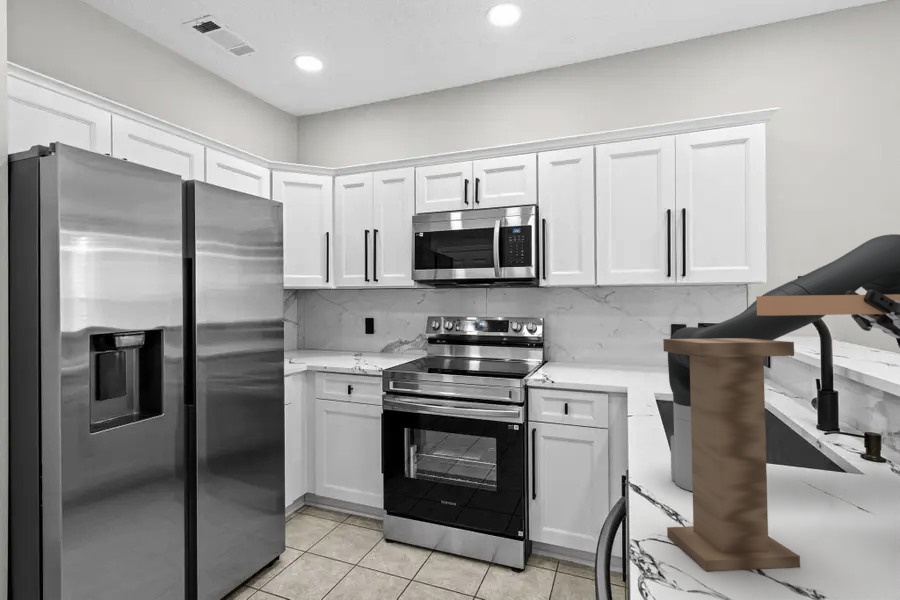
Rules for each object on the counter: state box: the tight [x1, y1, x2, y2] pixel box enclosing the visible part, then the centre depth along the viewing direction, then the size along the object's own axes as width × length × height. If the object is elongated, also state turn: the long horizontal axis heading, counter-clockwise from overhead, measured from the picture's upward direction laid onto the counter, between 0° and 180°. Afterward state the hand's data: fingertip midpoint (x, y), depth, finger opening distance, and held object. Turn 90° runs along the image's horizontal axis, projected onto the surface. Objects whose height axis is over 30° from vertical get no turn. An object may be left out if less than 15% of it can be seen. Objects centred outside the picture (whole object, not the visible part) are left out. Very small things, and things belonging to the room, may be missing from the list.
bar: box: [755, 294, 900, 316], centre depth 72 cm, size 22×3×3 cm, turn 94°
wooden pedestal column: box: [662, 338, 801, 572], centre depth 70 cm, size 14×10×32 cm
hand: (857, 295), depth 72 cm, fingers closed on bar, 3 cm apart
